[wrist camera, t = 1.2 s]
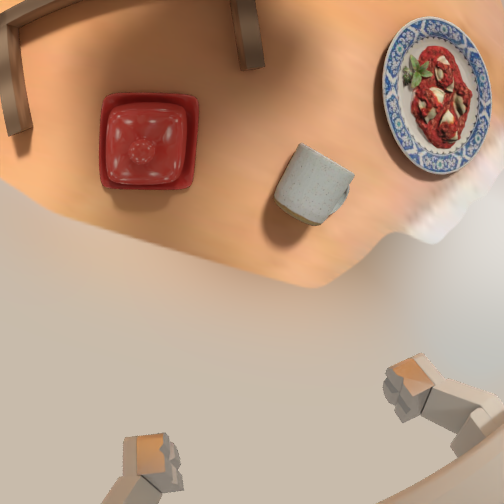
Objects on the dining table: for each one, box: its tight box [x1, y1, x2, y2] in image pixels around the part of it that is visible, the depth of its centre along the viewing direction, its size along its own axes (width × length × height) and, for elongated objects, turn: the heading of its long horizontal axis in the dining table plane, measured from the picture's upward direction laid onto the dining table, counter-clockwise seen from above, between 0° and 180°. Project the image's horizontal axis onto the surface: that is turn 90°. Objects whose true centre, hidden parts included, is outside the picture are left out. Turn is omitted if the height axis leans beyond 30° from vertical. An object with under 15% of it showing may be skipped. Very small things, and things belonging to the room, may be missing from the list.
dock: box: [0, 0, 265, 136], centre depth 26 cm, size 16×30×4 cm, turn 98°
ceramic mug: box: [274, 143, 355, 226], centre depth 38 cm, size 11×8×8 cm
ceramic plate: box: [382, 17, 492, 174], centre depth 38 cm, size 26×26×3 cm
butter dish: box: [99, 92, 199, 190], centre depth 31 cm, size 12×12×8 cm
